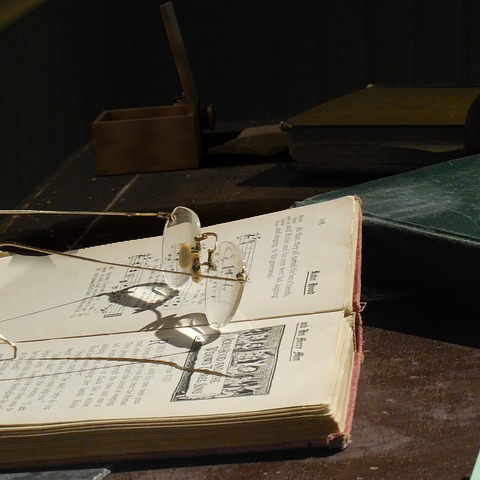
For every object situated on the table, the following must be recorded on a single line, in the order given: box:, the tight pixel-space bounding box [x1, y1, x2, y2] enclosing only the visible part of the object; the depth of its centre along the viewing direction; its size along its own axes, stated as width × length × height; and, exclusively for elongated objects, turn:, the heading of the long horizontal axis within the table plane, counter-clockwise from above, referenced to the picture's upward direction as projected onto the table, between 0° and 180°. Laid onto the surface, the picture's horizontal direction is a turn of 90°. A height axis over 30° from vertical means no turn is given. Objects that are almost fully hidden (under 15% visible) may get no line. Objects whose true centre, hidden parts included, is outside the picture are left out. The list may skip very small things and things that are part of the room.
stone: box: [206, 124, 290, 157], centre depth 149 cm, size 11×16×3 cm
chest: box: [91, 105, 203, 177], centre depth 144 cm, size 15×12×8 cm
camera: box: [172, 91, 217, 151], centre depth 158 cm, size 16×7×8 cm, turn 1°
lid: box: [159, 1, 200, 113], centre depth 141 cm, size 16×12×1 cm
